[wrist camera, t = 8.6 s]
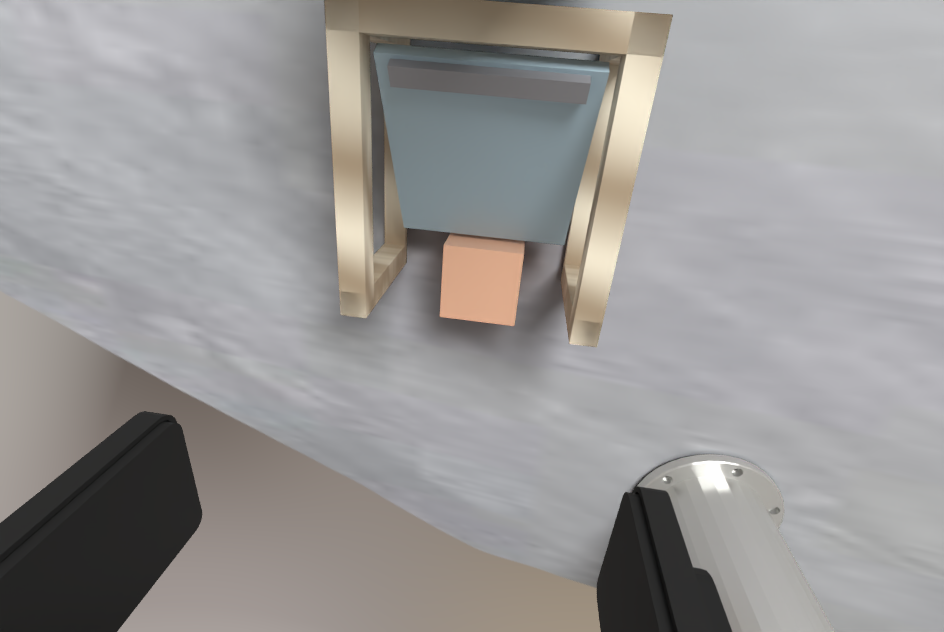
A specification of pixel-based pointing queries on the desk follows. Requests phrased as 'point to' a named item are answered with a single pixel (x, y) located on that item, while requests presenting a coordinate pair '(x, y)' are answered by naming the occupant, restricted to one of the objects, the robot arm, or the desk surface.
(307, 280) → the desk surface
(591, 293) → the frame
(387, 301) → the desk surface
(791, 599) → the robot arm
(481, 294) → the terracotta block
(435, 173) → the trapdoor plate
